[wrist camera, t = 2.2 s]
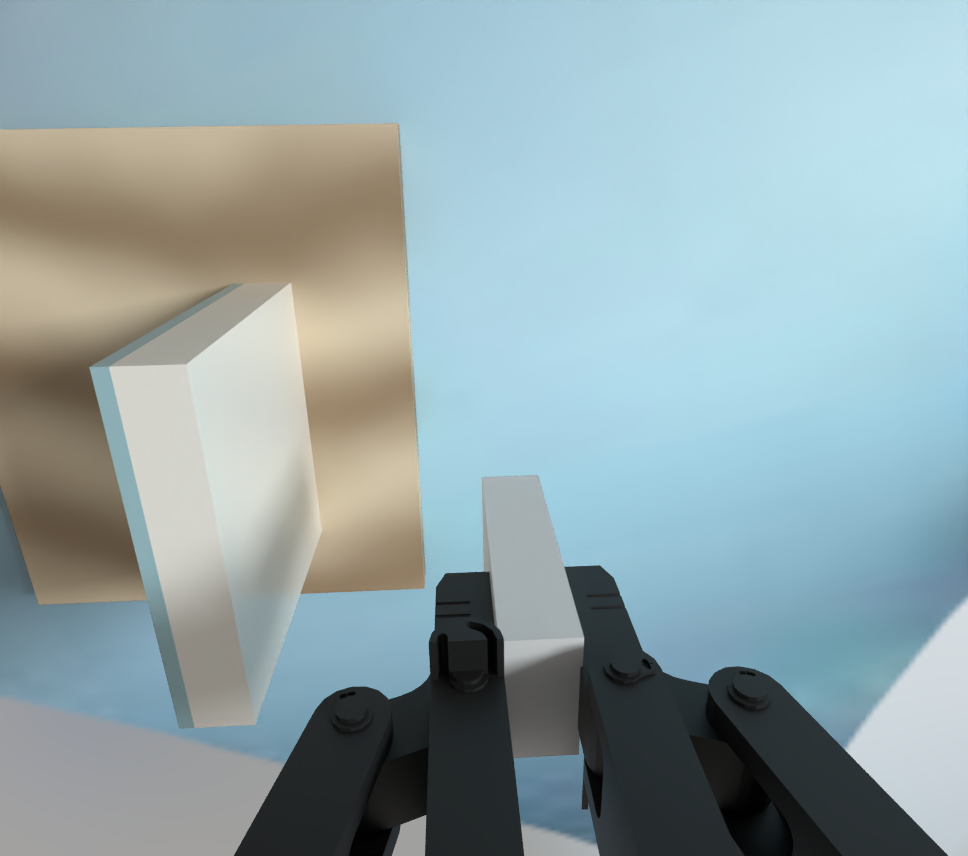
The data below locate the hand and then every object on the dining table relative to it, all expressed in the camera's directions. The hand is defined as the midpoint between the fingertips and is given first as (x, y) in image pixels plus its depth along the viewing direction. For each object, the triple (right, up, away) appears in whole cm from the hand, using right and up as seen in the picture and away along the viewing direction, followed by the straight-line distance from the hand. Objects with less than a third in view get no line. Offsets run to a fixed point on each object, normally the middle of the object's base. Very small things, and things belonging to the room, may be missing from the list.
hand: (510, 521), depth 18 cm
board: (-11, +4, +8) cm, 14 cm away
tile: (-8, +3, +7) cm, 11 cm away
